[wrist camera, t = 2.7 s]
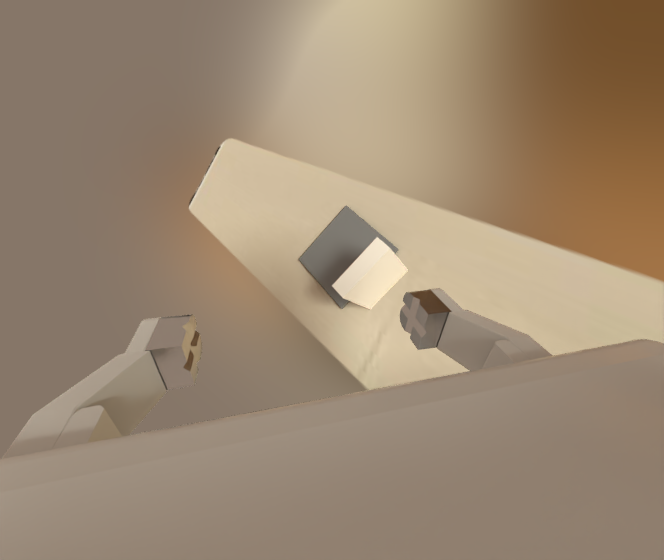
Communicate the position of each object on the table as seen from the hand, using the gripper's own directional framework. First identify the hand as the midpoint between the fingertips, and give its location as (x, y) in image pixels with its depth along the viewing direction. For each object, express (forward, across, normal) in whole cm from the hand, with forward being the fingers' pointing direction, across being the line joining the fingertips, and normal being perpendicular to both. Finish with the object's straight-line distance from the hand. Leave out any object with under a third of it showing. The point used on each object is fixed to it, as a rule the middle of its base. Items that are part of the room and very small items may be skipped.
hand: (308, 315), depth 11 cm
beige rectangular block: (+27, +17, -18) cm, 36 cm away
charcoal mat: (+35, +13, -16) cm, 40 cm away
